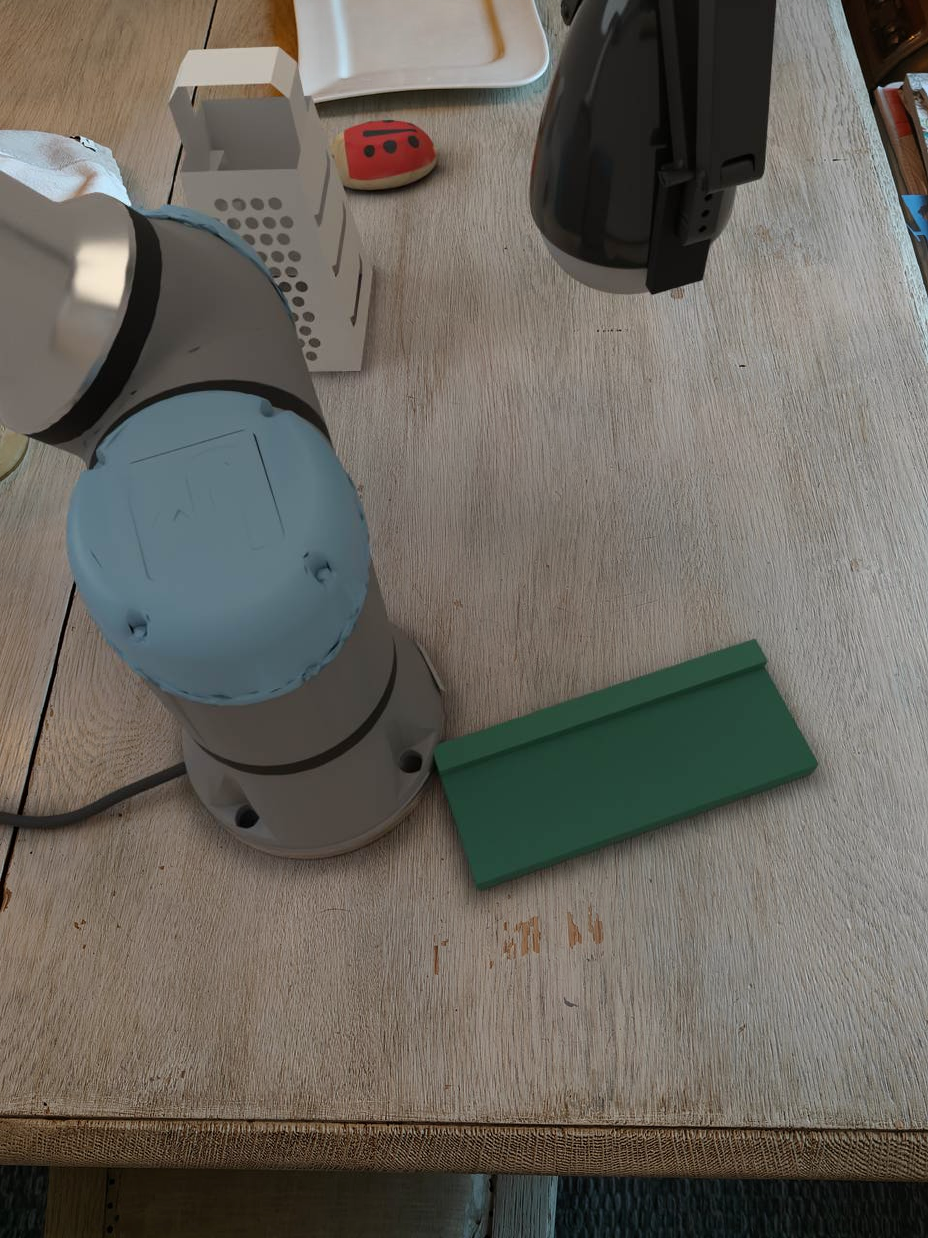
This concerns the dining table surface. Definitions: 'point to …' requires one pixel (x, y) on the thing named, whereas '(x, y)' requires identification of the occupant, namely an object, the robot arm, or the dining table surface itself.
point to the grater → (276, 190)
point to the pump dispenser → (606, 147)
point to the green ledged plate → (619, 763)
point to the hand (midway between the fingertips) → (628, 214)
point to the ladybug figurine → (383, 154)
